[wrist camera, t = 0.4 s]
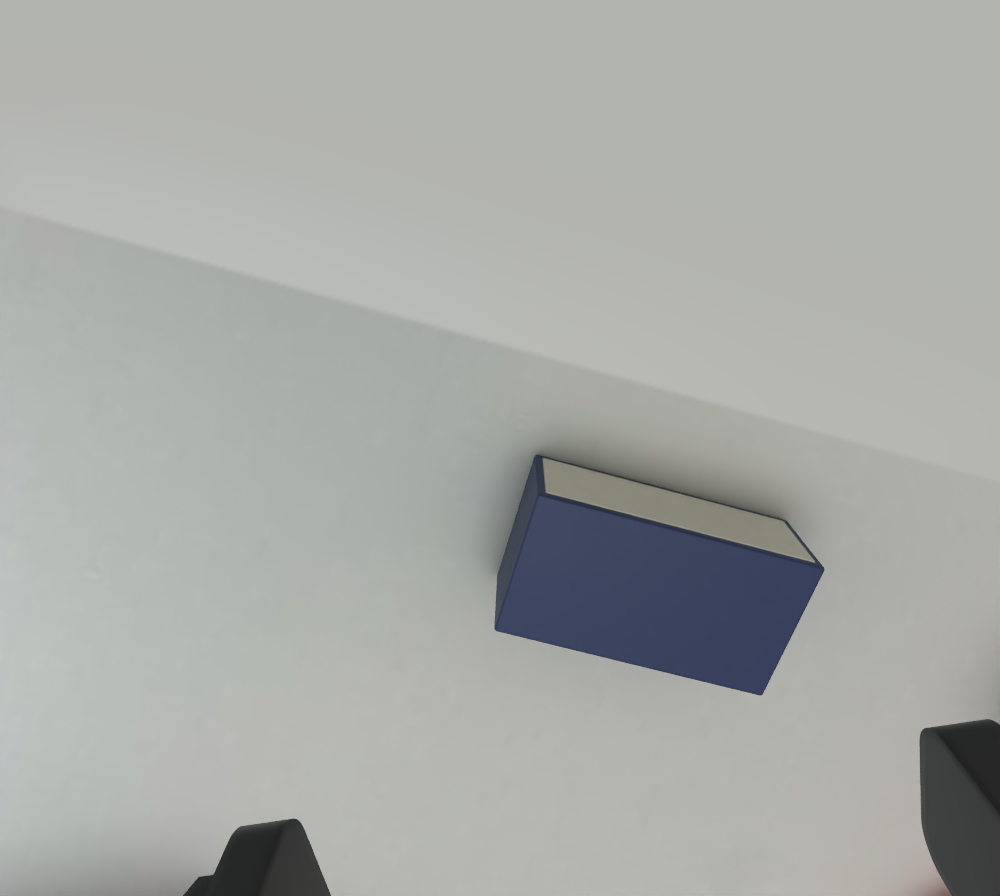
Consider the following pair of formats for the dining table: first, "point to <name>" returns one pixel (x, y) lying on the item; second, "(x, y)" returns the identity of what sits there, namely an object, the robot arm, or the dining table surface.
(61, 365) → the dining table surface
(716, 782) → the dining table surface
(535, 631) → the book
